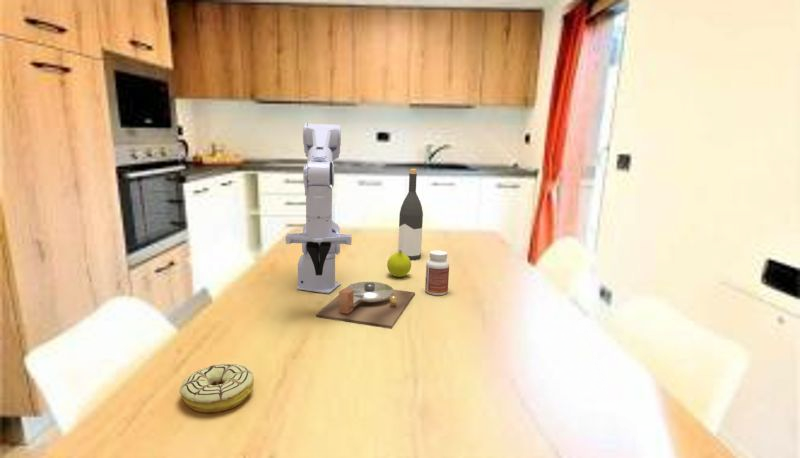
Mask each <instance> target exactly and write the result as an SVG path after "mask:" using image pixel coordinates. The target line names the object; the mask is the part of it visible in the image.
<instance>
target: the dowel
mask: <svg viewBox="0 0 800 458" xmlns="http://www.w3.org/2000/svg"><path fill="white" fill-rule="evenodd" d="M396 303H397V296H395V295H391V296H390V307H391V308H396Z"/></svg>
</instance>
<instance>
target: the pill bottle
mask: <svg viewBox="0 0 800 458" xmlns="http://www.w3.org/2000/svg"><path fill="white" fill-rule="evenodd" d="M447 259H448V252H447V251H444V250H440V249H438V250H437V249H436V250H430V251H429V259H427V261H426V266H425V283H424V284H425V285H424V287H425V288H424V289H425V292H426V293H427V294H429V295H432V296H443V295H446V294H447V293H448V291H449V278H450V276H449V275H450V262H449V261H448V260H447Z"/></svg>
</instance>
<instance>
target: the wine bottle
mask: <svg viewBox="0 0 800 458" xmlns="http://www.w3.org/2000/svg"><path fill="white" fill-rule="evenodd" d="M408 176H409V177H408V192H407V194H406V197H405V198H404V200H403V202H402V204H401V207H400V211H399V219H398V220H399V221H398V223H399V224H398V245H397V248H398V249H397V253H398V252H399V249H402V253H403V254H405V255H407V256H408V257H409V259H410V261H417V260H420V258H421V255H422V242H423V240H422V239H423V222H424V221H423V219H424V218H423V217H424V212H423V207H422V204H421V203H422V202H421V200H420V198H419V196H418V194H417V178H418V177H417V176H418V173H417V168H410V169H409V173H408Z"/></svg>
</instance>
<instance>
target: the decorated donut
mask: <svg viewBox="0 0 800 458" xmlns="http://www.w3.org/2000/svg"><path fill="white" fill-rule="evenodd" d="M254 381H255V379H254V373H253V372H252V371H251V370H250V368H248V367H247V366H245V365H241V364H235V363H230V364H229V363H228V364H225V363H223V364H221V363H220V364H214V365H213V364H212V365H209V366H207V367H204V368H201V369H198V370H197V371H194V372H193V373H191V374H190V375H188V376H186V377H185V378H184V379H183V380H182V383H181V385H180V388H179V391H178V393H179V394H180V396H181V398H182V401H183V402H184V403H185V405H186V406H188V407H189V408H190V409H192V410H194V411H195V412H199V413H206V414H207V413H208V414H209V413H211V414H213V413H219V412H223V411H224V412H225V411H228V410H231V409H233V408H236V407H237V406H238V405H241V404H242V403H243V402H244V401H245V400H246V399H247V397H249V396H250V394H251V393H252V391H253V388H254V385H255V383H254Z"/></svg>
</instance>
